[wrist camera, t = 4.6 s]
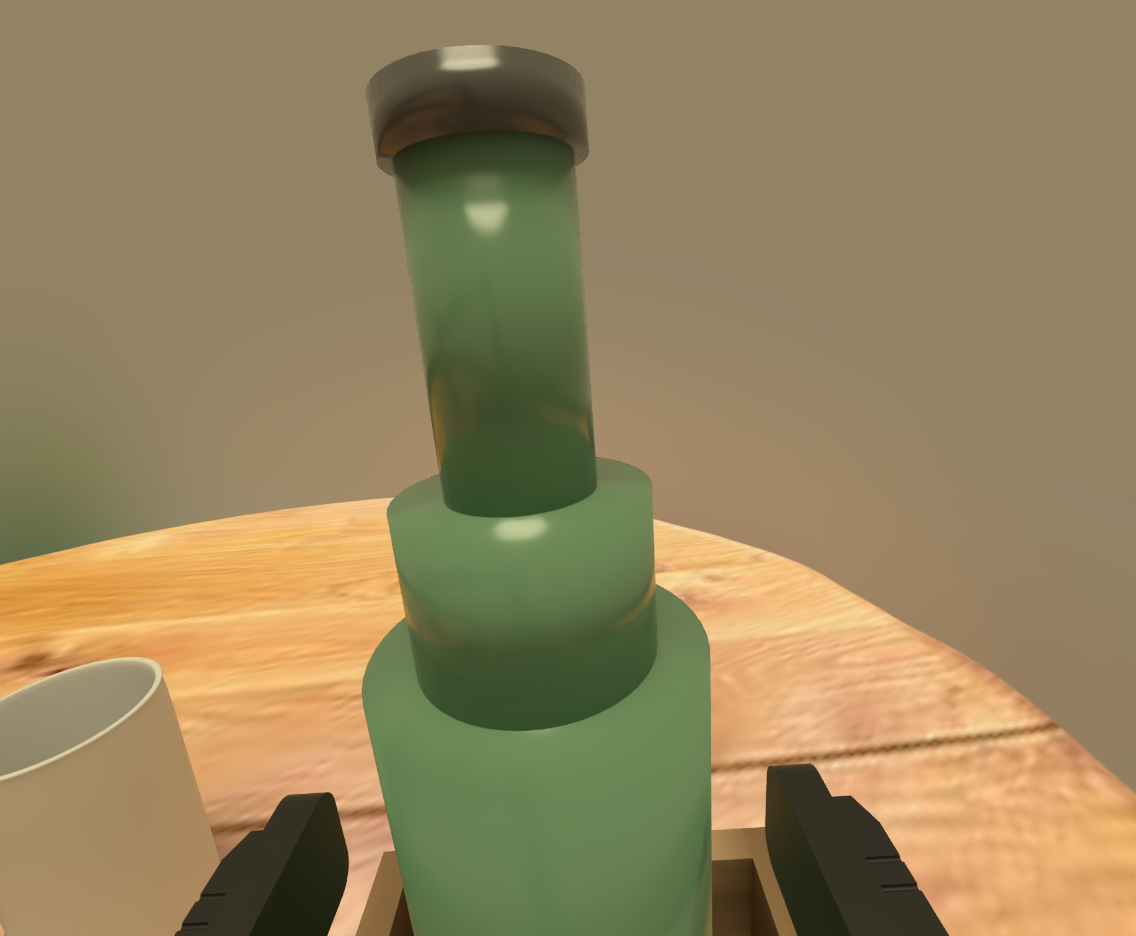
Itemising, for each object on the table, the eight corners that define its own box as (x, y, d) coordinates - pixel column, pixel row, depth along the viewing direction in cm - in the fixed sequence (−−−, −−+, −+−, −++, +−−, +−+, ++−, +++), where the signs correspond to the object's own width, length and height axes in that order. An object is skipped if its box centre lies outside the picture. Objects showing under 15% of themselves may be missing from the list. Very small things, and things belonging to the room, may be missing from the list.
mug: (184, 843, 28) (111, 643, 24) (267, 895, 25) (198, 676, 22) (-111, 1090, 19) (-284, 834, 16) (-37, 1215, 16) (-231, 932, 13)
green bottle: (440, 1233, 15) (152, 115, 7) (581, 1007, 19) (492, 177, 12) (631, 1550, 11) (428, -186, 3) (751, 1172, 15) (779, 81, 8)
